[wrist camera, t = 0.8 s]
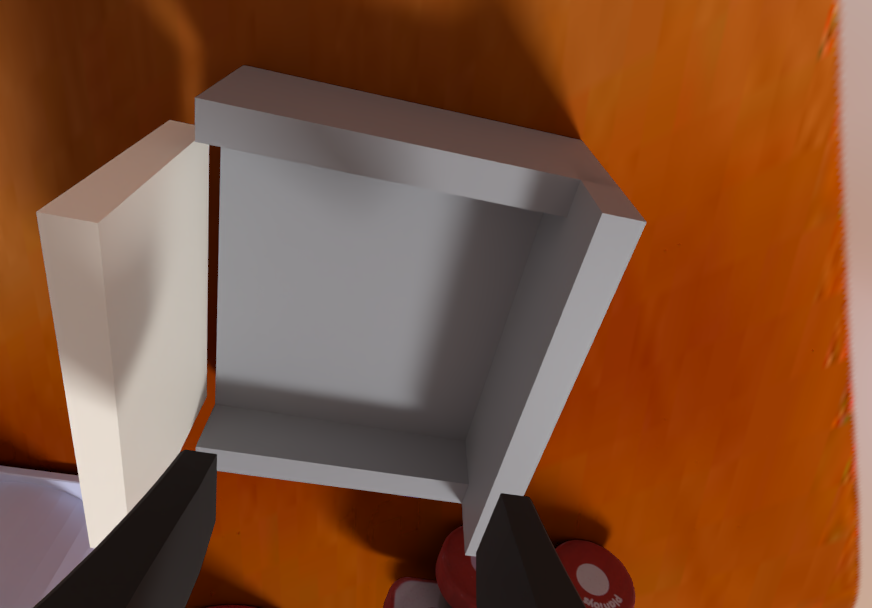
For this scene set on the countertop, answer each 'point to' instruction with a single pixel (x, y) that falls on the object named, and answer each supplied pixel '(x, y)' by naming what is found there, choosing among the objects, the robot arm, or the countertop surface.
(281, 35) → the countertop surface
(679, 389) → the countertop surface
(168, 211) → the panel
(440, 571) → the toy fire truck
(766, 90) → the countertop surface
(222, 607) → the canned food
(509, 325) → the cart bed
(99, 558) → the robot arm
